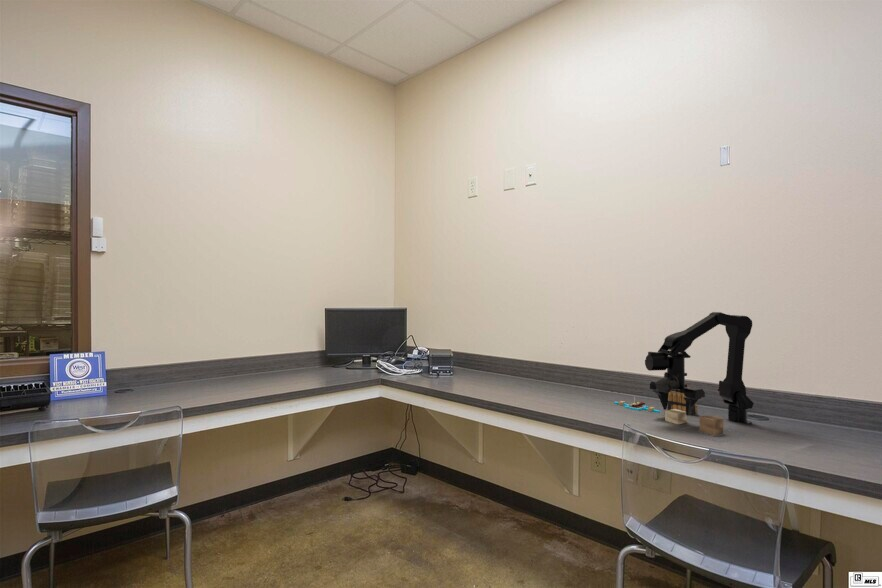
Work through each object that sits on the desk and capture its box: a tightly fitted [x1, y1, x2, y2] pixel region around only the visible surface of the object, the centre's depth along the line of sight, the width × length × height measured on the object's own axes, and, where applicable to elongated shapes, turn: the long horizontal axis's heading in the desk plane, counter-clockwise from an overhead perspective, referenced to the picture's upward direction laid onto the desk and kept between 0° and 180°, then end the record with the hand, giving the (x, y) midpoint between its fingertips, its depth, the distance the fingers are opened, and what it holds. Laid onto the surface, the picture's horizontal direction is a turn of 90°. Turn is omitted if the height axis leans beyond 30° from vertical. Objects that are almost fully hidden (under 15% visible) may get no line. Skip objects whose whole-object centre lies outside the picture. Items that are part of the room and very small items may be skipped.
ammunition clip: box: [666, 385, 698, 417], centre depth 178 cm, size 11×2×12 cm, turn 40°
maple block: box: [664, 409, 688, 425], centre depth 166 cm, size 5×5×5 cm
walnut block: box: [698, 414, 724, 436], centre depth 153 cm, size 5×5×5 cm
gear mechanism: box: [614, 396, 661, 414], centre depth 191 cm, size 20×5×9 cm
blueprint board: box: [676, 424, 748, 443], centre depth 153 cm, size 16×16×1 cm
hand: (676, 412), depth 166 cm, fingers open, 9 cm apart
